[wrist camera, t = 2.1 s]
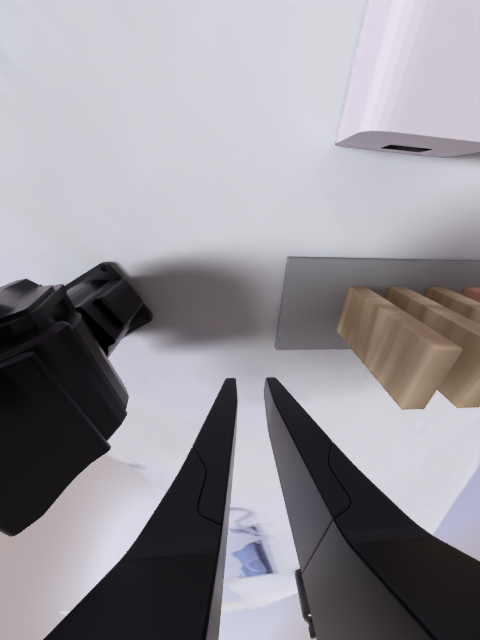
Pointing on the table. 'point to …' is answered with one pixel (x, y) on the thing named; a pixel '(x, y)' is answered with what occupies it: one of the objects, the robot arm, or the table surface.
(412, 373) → the domino
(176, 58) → the table surface
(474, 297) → the domino
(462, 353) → the domino
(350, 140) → the charger
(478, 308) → the domino
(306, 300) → the domino mat
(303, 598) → the supplement bottle
